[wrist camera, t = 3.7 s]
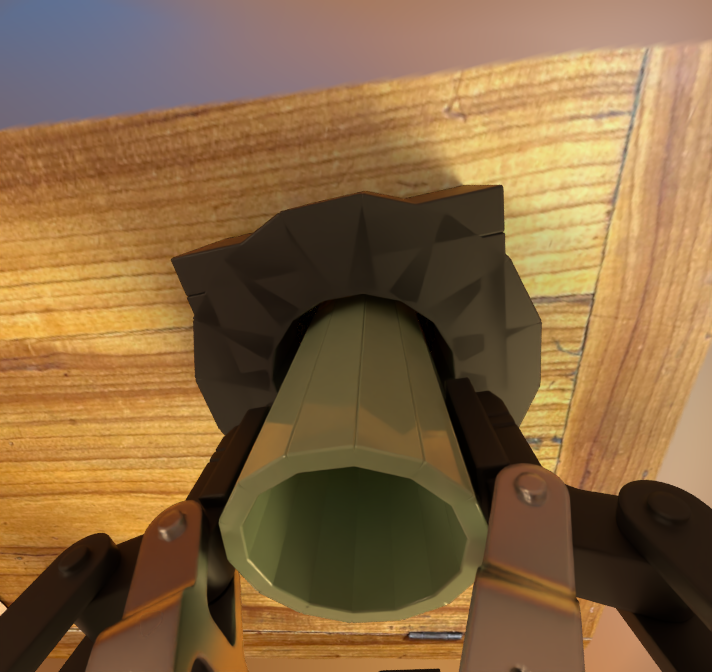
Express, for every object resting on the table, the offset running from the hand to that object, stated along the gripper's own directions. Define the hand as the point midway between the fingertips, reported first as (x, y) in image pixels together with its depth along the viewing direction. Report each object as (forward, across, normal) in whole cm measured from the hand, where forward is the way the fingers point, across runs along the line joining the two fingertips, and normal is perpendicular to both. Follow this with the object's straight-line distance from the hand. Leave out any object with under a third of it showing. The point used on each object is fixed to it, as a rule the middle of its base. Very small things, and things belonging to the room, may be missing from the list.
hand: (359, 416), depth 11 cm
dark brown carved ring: (+7, 0, 0) cm, 7 cm away
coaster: (+7, +42, +21) cm, 47 cm away
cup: (+7, 0, 0) cm, 7 cm away
